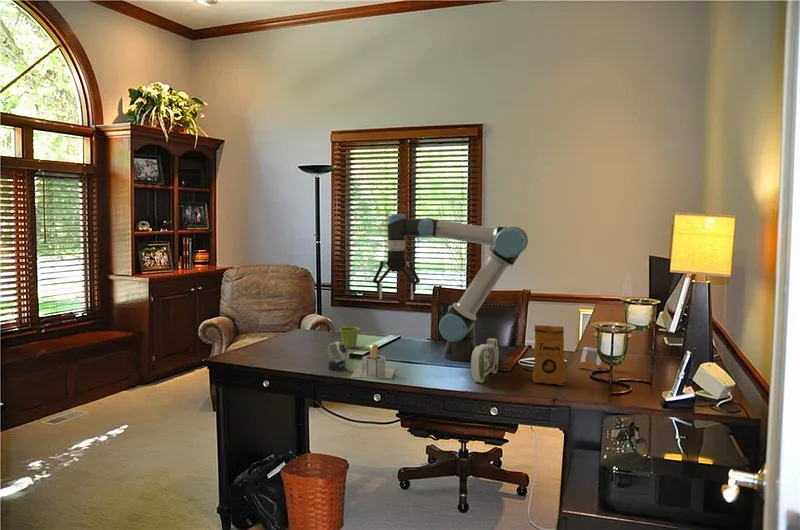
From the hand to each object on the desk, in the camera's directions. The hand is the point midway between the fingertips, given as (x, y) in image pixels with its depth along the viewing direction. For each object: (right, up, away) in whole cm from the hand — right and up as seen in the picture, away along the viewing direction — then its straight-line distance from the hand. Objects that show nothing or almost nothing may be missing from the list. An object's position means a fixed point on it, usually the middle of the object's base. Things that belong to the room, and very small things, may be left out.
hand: (396, 299), depth 271 cm
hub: (-9, -28, -20) cm, 36 cm away
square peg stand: (-9, -28, -20) cm, 36 cm away
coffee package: (+58, -30, -33) cm, 73 cm away
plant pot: (-22, -24, +27) cm, 43 cm away
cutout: (+35, -30, -26) cm, 53 cm away
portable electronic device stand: (+81, -28, -11) cm, 86 cm away
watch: (-24, -28, -13) cm, 39 cm away
